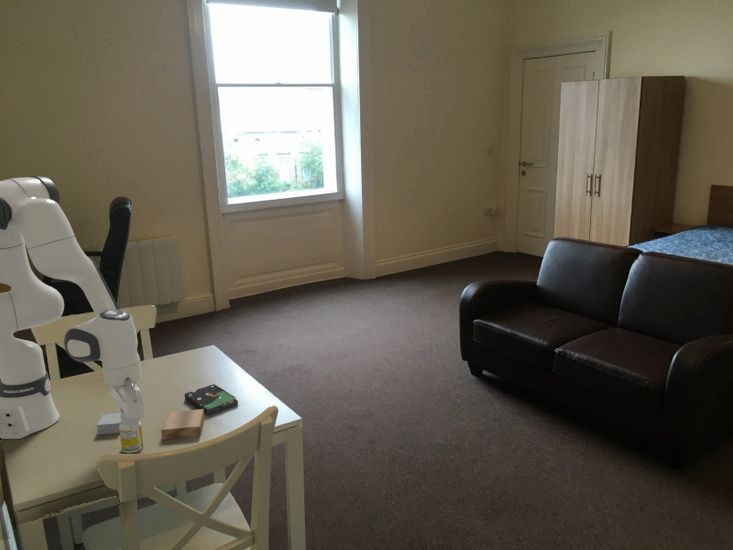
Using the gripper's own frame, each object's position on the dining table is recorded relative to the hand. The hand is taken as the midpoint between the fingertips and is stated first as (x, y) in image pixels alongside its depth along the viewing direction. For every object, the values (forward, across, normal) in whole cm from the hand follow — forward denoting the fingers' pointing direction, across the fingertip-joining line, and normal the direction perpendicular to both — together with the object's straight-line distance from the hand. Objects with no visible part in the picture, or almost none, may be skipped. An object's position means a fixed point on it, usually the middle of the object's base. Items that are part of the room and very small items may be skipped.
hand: (130, 422), depth 156 cm
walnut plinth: (+8, +3, -14) cm, 16 cm away
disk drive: (+8, +14, -26) cm, 31 cm away
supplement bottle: (+8, +1, 0) cm, 8 cm away
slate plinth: (+7, +15, +2) cm, 17 cm away
